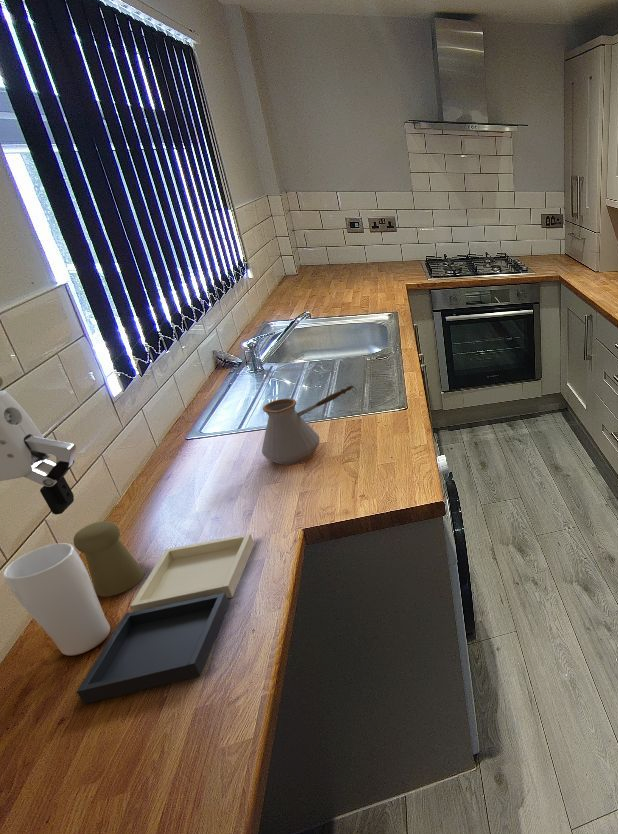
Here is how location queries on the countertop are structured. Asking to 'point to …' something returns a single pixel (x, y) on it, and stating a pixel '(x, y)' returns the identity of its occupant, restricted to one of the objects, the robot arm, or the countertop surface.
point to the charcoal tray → (156, 648)
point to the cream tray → (195, 572)
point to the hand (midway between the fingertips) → (17, 516)
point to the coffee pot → (291, 430)
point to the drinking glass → (59, 597)
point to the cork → (107, 558)
